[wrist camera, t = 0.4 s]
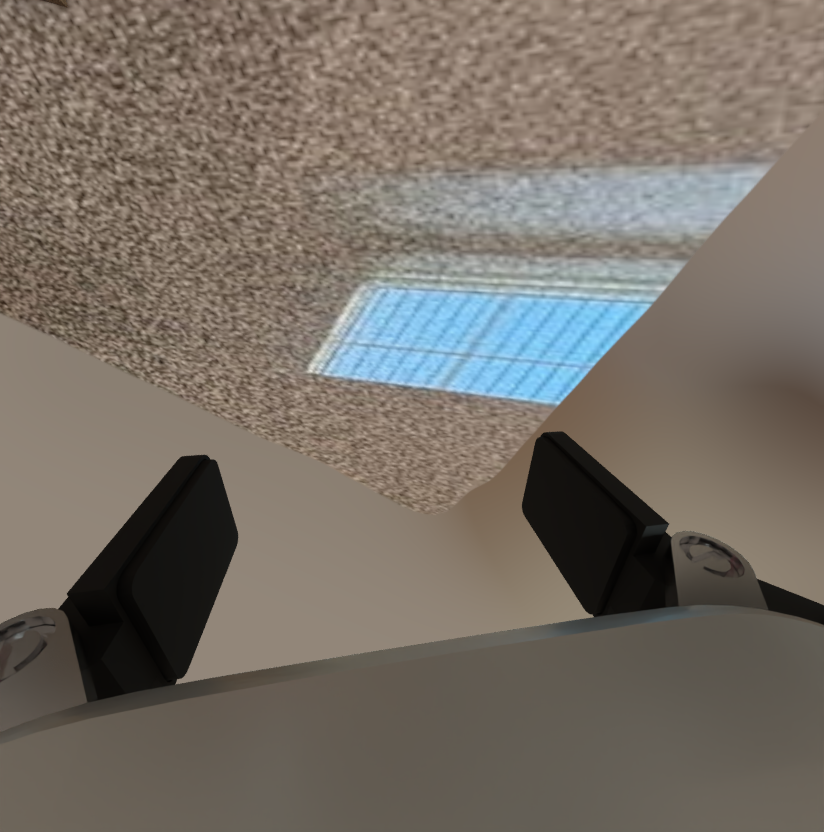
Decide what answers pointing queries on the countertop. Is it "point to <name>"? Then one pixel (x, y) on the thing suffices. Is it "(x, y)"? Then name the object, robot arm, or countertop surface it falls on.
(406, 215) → the countertop surface
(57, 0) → the walnut stand
